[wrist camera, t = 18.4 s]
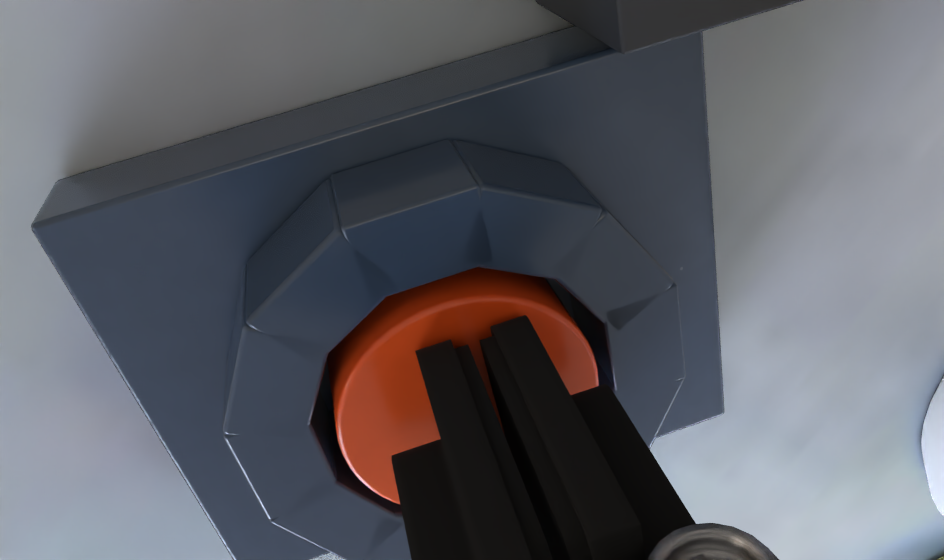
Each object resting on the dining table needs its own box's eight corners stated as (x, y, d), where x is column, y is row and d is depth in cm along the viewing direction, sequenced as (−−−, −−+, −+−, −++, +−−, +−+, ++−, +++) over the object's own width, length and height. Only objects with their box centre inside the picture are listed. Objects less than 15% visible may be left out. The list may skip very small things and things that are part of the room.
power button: (368, 469, 14) (381, 546, 12) (291, 287, 12) (296, 353, 10) (578, 397, 14) (615, 464, 13) (541, 207, 12) (580, 260, 10)
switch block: (247, 517, 16) (244, 670, 13) (54, 179, 12) (-13, 292, 9) (686, 366, 17) (777, 477, 14) (654, 0, 13) (773, 50, 10)
